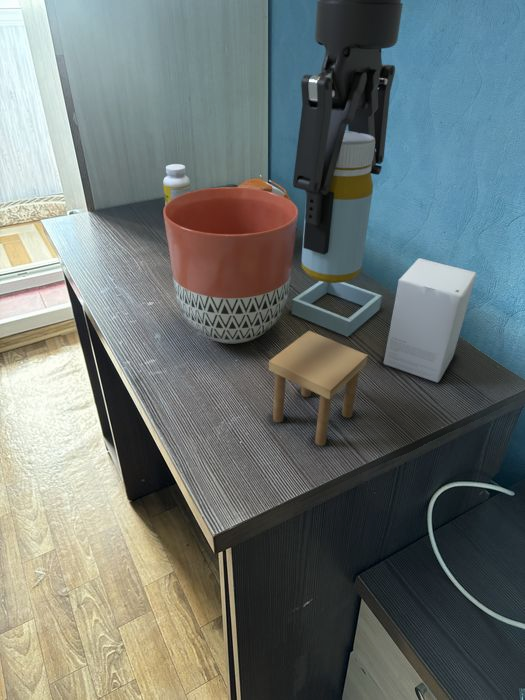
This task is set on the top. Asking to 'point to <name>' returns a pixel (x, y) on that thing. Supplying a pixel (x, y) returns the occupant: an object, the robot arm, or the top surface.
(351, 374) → the stool
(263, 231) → the planter
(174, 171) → the pill bottle
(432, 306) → the rectangular carton
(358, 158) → the bottle
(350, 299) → the square tray frame
